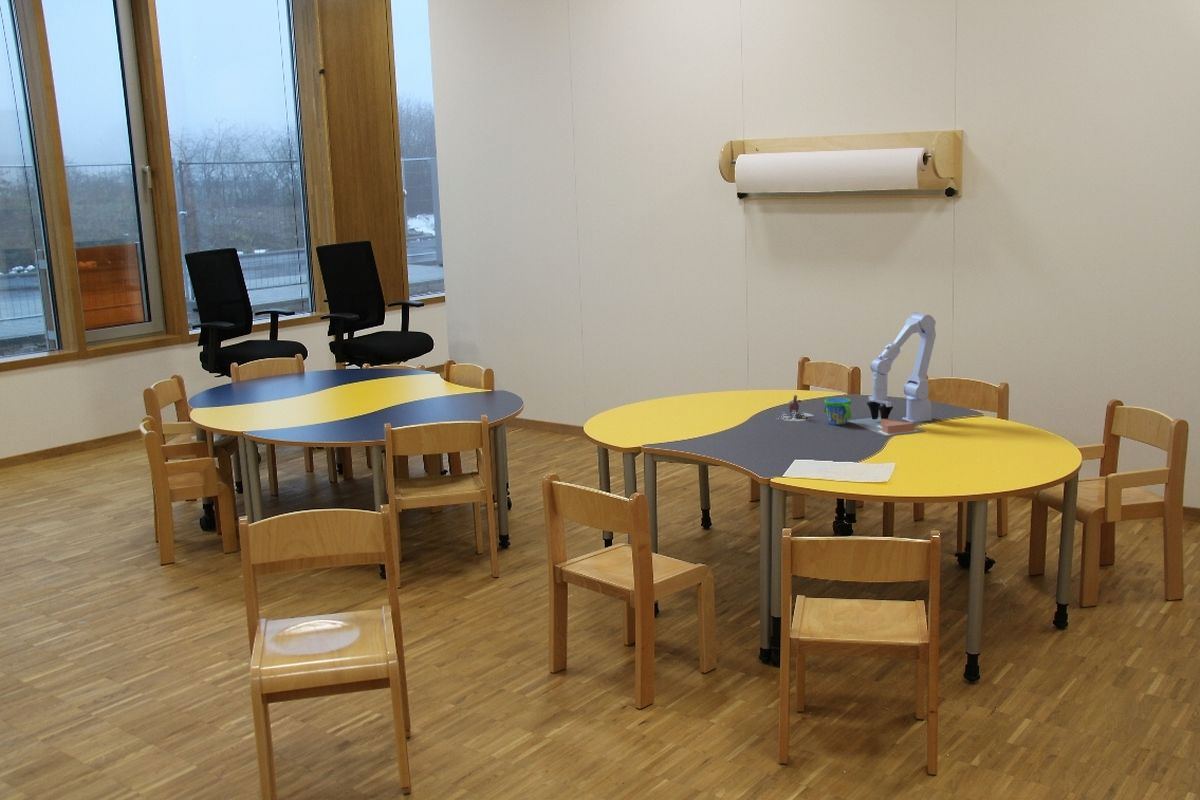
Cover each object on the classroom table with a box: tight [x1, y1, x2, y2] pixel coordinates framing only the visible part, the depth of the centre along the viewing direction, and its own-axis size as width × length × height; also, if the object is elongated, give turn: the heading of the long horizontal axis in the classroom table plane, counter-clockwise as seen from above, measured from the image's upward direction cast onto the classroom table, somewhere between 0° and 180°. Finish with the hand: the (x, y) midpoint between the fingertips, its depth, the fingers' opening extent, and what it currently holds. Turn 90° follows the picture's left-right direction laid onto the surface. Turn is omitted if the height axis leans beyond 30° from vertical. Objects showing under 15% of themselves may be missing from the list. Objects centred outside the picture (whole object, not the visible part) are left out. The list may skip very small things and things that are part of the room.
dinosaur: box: [777, 394, 815, 422], centre depth 480 cm, size 18×18×11 cm
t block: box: [881, 417, 916, 434], centre depth 451 cm, size 12×12×3 cm
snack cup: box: [823, 396, 852, 426], centre depth 464 cm, size 16×10×10 cm
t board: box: [847, 416, 926, 438], centre depth 458 cm, size 18×30×1 cm, turn 17°
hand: (879, 420), depth 461 cm, fingers open, 7 cm apart
